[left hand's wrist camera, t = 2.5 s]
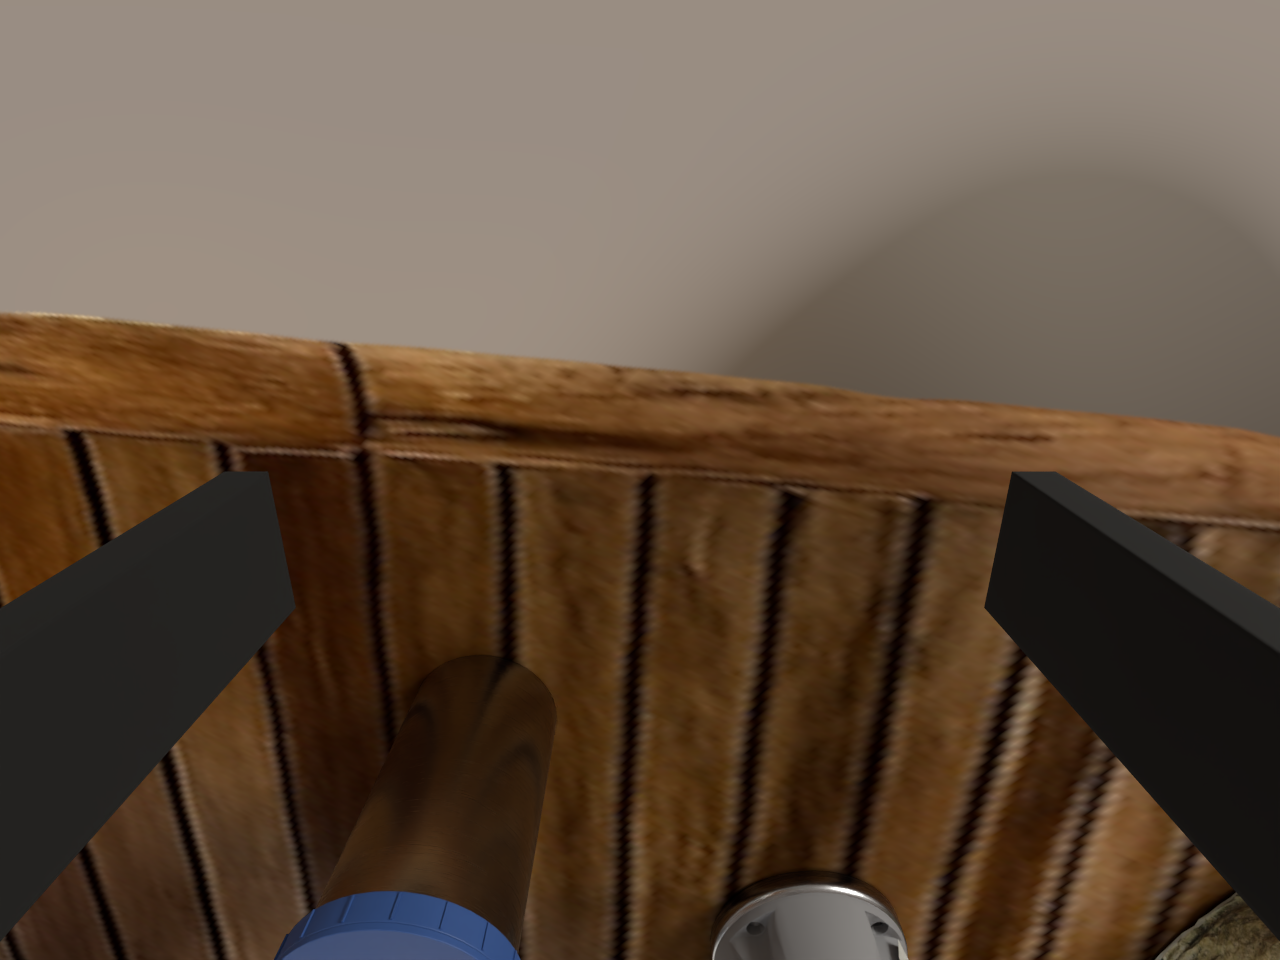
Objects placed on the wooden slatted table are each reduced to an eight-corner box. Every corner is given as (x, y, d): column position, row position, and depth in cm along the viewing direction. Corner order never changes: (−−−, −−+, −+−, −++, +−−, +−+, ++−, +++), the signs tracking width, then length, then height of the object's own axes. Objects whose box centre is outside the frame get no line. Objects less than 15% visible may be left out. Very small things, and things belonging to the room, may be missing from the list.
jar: (554, 655, 46) (500, 930, 28) (558, 770, 50) (513, 1080, 32) (407, 654, 46) (260, 929, 28) (422, 769, 50) (300, 1079, 32)
